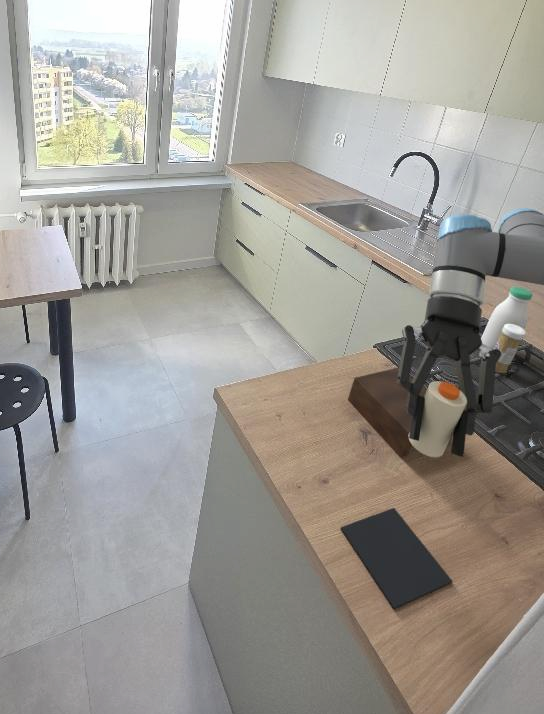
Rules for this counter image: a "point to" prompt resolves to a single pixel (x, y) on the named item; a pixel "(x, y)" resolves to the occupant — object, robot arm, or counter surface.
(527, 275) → the robot arm
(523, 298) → the milk bottle
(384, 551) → the mat
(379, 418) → the shelf
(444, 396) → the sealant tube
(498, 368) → the sprinkles bottle
